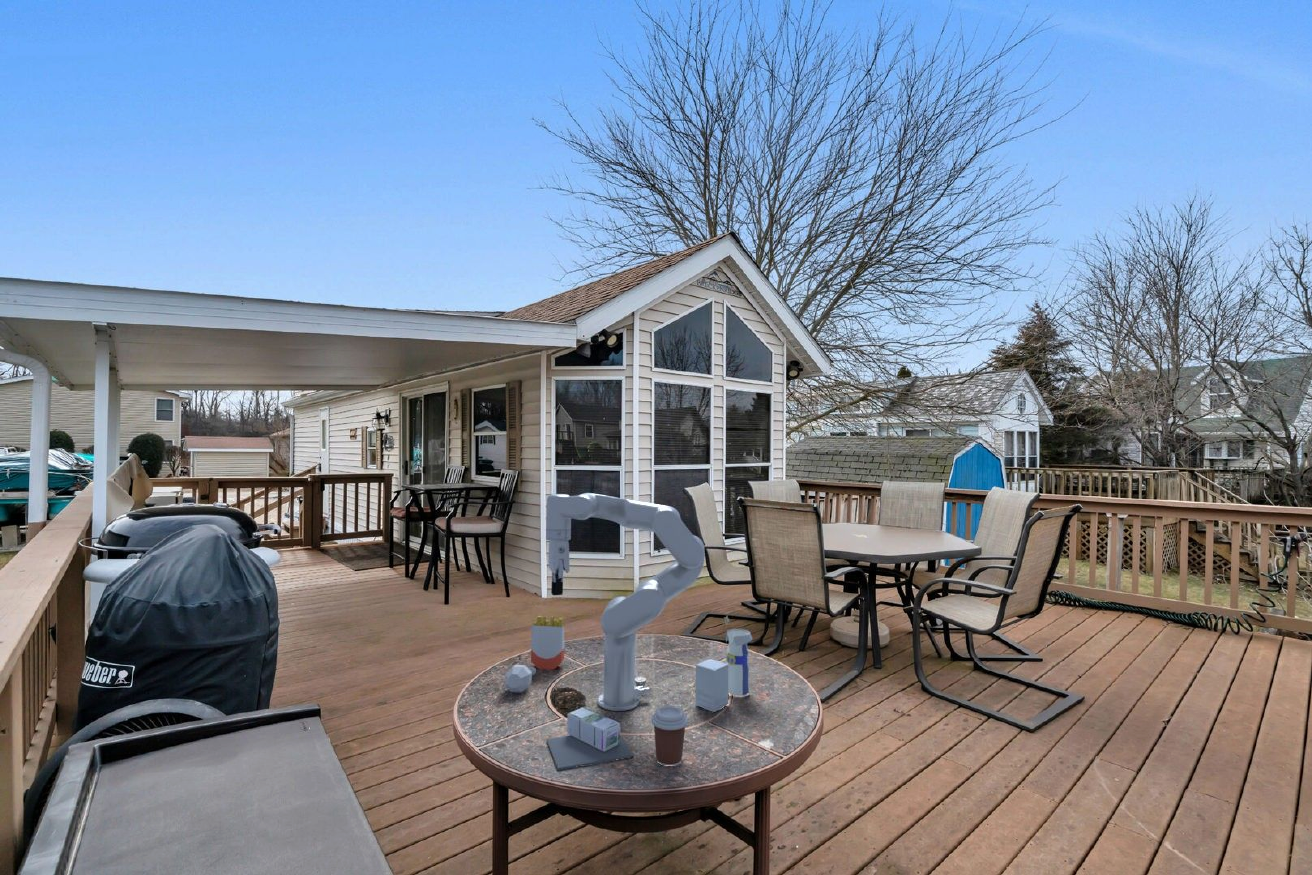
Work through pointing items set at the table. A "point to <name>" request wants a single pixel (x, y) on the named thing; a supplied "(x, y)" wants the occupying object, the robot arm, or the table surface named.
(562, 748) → the rubber mat
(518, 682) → the chicken leg
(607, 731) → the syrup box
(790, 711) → the table surface
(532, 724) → the table surface
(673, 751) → the coffee cup
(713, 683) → the supplement box
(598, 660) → the table surface
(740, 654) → the spray bottle
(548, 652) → the french fries container
